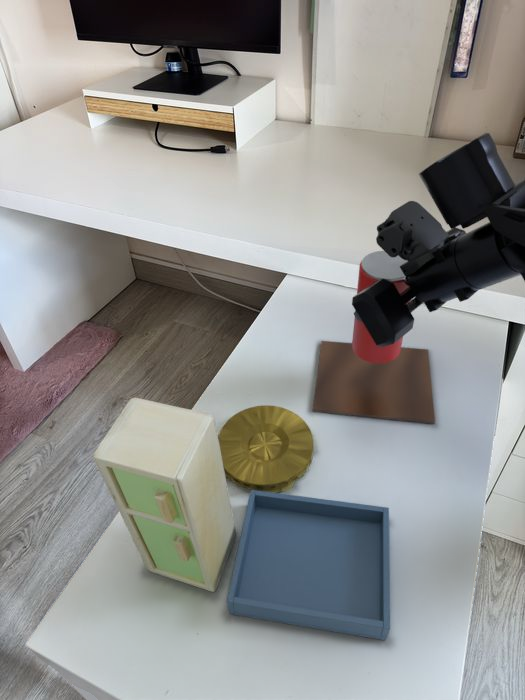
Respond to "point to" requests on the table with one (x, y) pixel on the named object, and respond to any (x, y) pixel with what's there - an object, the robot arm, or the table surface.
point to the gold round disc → (266, 448)
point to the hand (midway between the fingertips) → (372, 303)
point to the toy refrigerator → (170, 489)
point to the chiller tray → (313, 564)
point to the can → (369, 272)
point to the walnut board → (374, 385)
